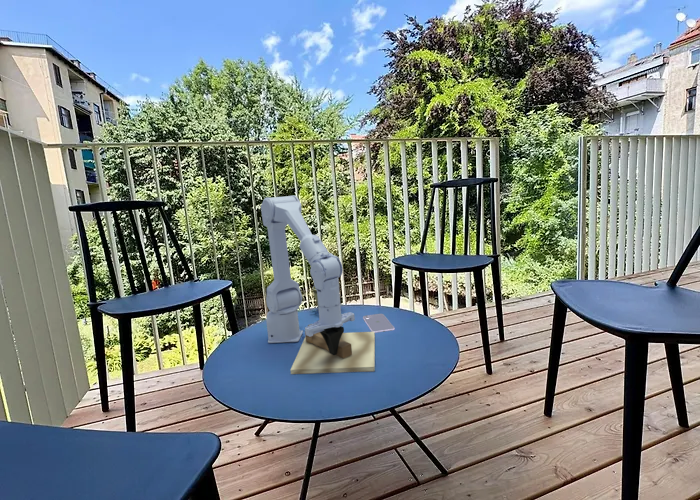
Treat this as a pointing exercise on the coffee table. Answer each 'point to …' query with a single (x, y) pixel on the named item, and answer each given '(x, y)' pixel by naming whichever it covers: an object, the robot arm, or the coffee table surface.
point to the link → (318, 340)
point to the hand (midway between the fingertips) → (333, 353)
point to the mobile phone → (378, 323)
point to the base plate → (324, 362)
